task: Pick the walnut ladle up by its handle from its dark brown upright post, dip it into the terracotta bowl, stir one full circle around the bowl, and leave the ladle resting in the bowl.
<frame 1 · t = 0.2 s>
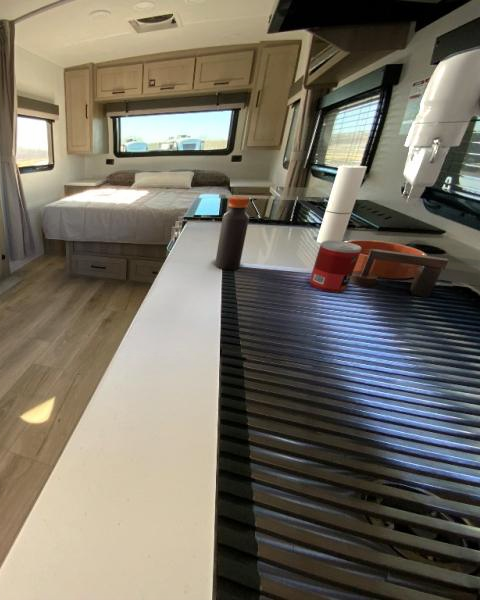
hand: (408, 201, 79), 20 cm above the worktop, tool pointing down, fingers open, 8 cm apart
bowl: (374, 267, 95), on the worktop
dark brown upright post: (418, 293, 80), on the worktop
bottle: (226, 267, 99), on the worktop
cylindrical container: (328, 242, 117), on the worktop
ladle: (396, 289, 82), on the worktop, touching dark brown upright post
canned food: (326, 287, 85), on the worktop
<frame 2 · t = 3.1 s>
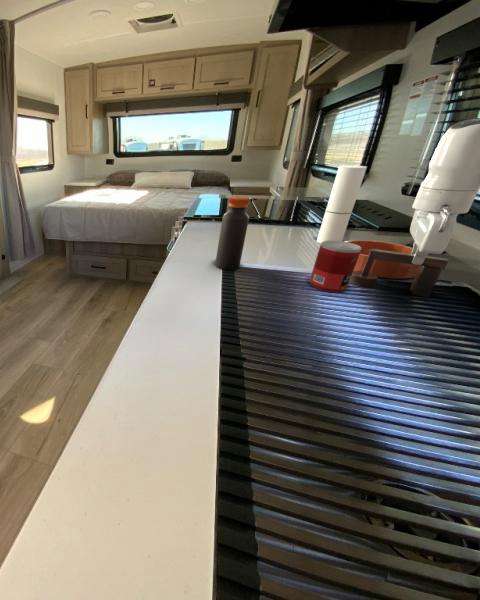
hand: (415, 261, 78), 7 cm above the worktop, tool pointing down, fingers closed on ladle
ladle: (396, 289, 82), on the worktop, touching gripper
everything else where it was.
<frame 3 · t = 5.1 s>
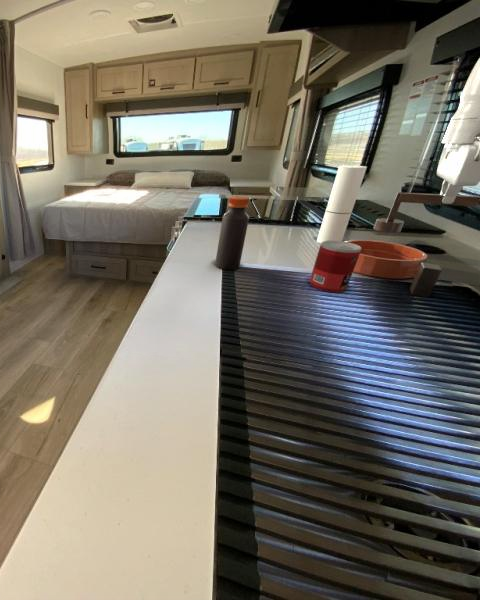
hand: (445, 201, 75), 21 cm above the worktop, tool pointing down, fingers closed on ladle
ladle: (424, 233, 79), point 13 cm above the worktop, touching gripper
everything else where it was.
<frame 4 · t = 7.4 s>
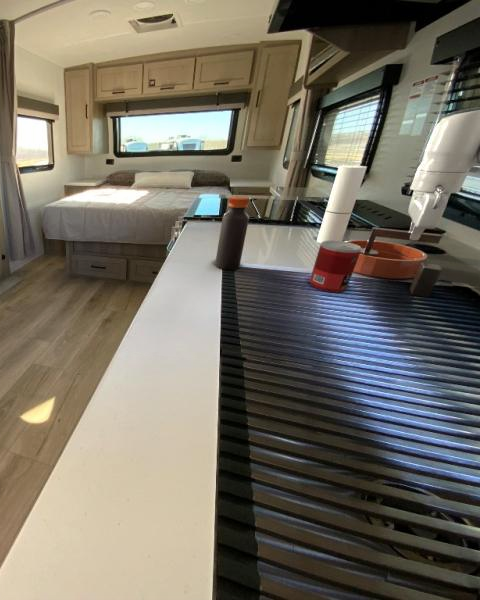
hand: (412, 238, 87), 10 cm above the worktop, tool pointing down, fingers closed on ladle
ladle: (395, 263, 91), point 2 cm above the worktop, touching gripper
everything else where it was.
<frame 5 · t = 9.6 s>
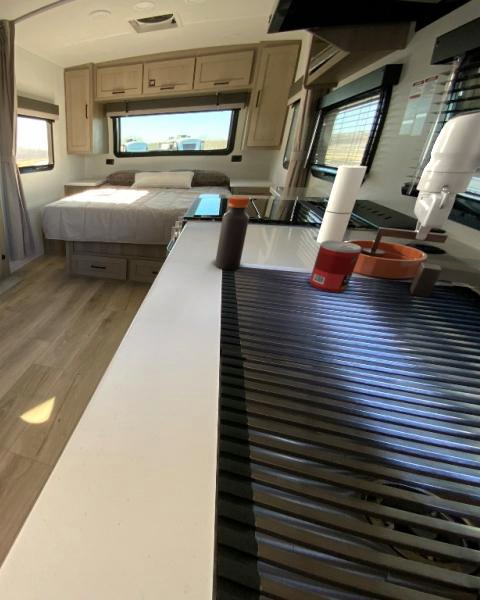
hand: (418, 237, 89), 9 cm above the worktop, tool pointing down, fingers closed on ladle
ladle: (401, 263, 93), point 2 cm above the worktop, touching gripper
everything else where it was.
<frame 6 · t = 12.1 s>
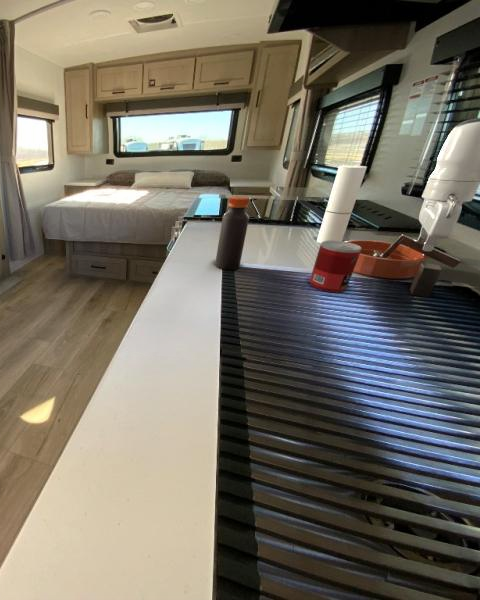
hand: (424, 246, 87), 8 cm above the worktop, tool pointing down, fingers open, 7 cm apart
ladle: (404, 275, 92), resting in bowl, tilted 22°
everything else where it was.
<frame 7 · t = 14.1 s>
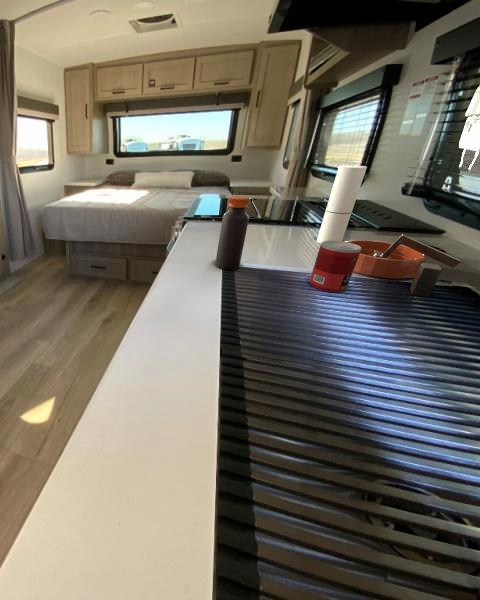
hand: (468, 170, 81), 26 cm above the worktop, tool pointing down, fingers open, 8 cm apart
nothing on the worktop moved.
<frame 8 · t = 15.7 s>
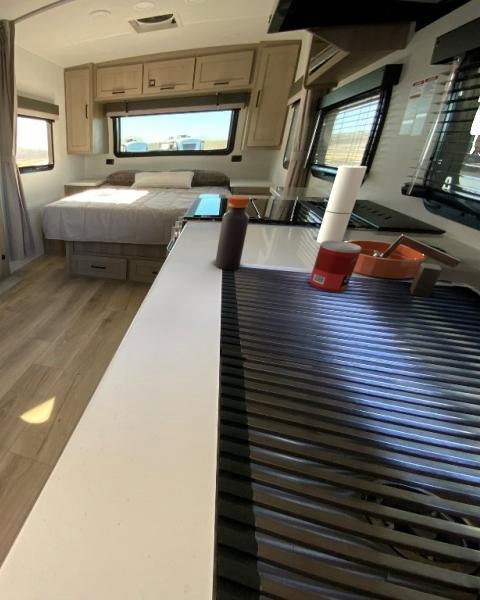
hand: (479, 156, 81), 29 cm above the worktop, tool pointing down, fingers open, 8 cm apart
nothing on the worktop moved.
at the end: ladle inside the target area in the bowl (2.7 cm from its centre), point -1.0 cm above the bowl's base; the gripper is holding nothing; canned food moved 0.2 cm from its start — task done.
